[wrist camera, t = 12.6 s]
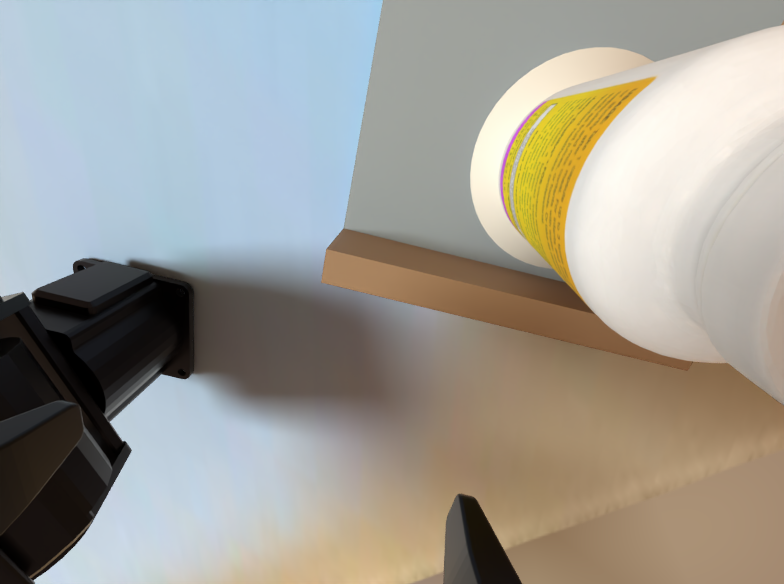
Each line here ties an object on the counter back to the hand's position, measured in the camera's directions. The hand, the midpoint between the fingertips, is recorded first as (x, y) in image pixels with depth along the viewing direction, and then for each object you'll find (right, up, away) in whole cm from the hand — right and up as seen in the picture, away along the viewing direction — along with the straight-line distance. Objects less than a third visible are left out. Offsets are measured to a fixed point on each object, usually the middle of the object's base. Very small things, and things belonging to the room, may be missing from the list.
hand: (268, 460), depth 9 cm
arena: (+10, +10, +8) cm, 16 cm away
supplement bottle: (+11, +9, +7) cm, 16 cm away
